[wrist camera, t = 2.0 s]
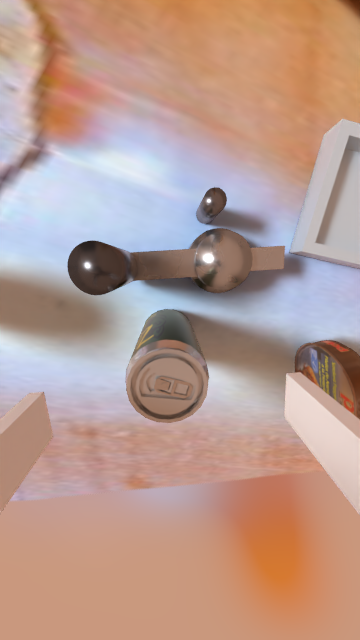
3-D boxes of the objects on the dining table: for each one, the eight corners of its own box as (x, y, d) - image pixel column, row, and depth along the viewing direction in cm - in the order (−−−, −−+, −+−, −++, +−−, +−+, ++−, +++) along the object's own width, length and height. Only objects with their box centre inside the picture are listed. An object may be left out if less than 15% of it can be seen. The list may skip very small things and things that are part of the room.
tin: (291, 333, 26) (347, 364, 18) (318, 328, 26) (386, 356, 18) (300, 442, 30) (350, 509, 22) (324, 437, 30) (383, 502, 22)
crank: (279, 230, 21) (350, 207, 13) (276, 284, 23) (341, 295, 14) (103, 240, 21) (59, 222, 12) (110, 295, 22) (75, 313, 14)
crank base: (197, 202, 23) (205, 184, 18) (255, 215, 23) (278, 202, 18) (162, 375, 27) (160, 399, 22) (212, 383, 27) (222, 409, 22)
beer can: (197, 314, 25) (223, 357, 14) (184, 359, 26) (197, 433, 15) (149, 302, 25) (133, 335, 13) (138, 348, 26) (113, 416, 14)
